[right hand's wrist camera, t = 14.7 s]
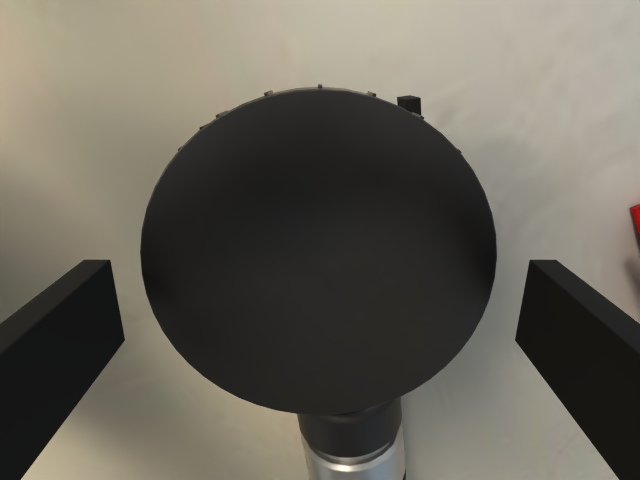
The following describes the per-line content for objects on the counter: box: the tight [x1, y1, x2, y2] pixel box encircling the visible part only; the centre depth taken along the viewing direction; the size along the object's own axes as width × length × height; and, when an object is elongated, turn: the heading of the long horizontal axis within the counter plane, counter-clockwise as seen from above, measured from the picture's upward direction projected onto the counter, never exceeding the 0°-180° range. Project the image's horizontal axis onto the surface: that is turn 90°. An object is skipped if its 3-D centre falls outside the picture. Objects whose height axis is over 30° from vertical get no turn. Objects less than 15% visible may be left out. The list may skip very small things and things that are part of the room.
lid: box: [140, 84, 497, 415], centre depth 15 cm, size 12×12×2 cm
